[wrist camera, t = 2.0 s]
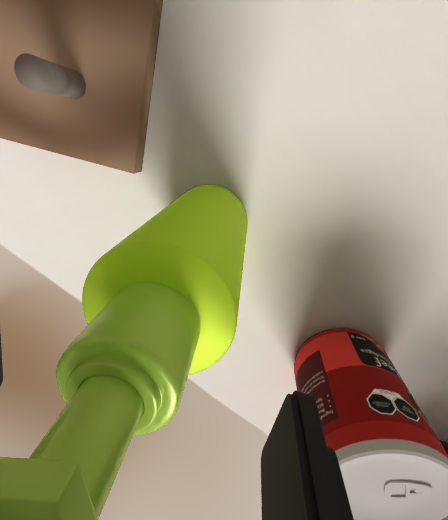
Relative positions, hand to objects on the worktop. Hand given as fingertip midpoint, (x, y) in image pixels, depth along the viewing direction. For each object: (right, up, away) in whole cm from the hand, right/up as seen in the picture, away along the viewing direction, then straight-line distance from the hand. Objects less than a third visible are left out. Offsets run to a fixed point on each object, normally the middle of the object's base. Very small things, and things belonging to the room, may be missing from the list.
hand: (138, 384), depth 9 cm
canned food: (+13, -5, +18) cm, 22 cm away
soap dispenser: (+2, +6, +14) cm, 15 cm away
